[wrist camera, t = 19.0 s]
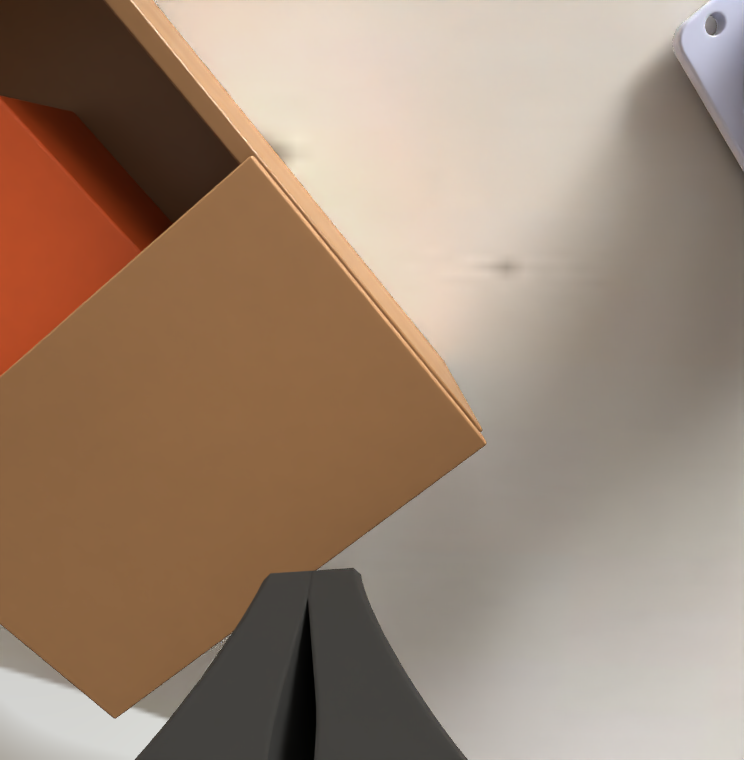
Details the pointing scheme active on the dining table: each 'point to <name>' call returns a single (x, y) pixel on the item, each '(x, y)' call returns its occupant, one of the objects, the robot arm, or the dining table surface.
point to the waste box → (163, 119)
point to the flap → (204, 441)
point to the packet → (60, 221)
